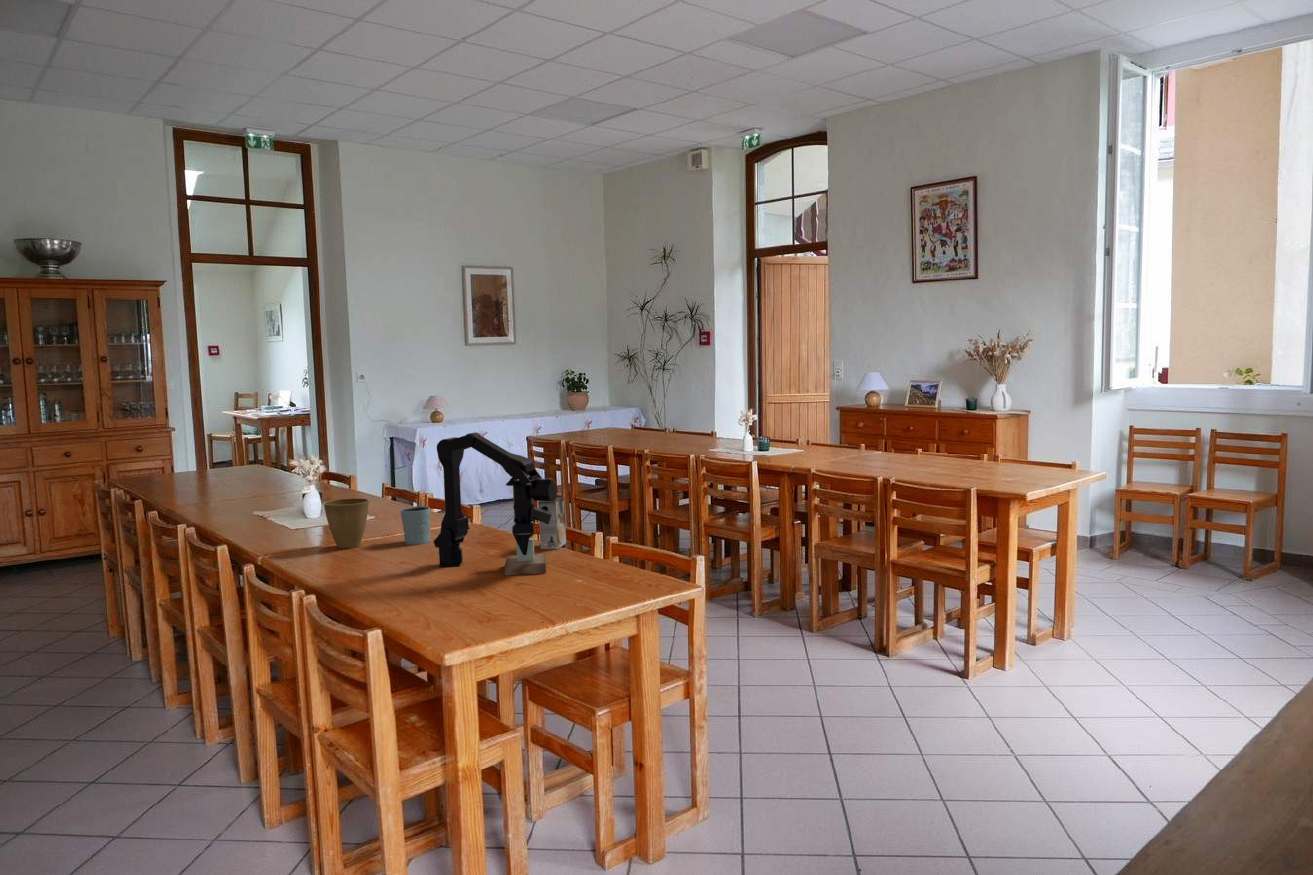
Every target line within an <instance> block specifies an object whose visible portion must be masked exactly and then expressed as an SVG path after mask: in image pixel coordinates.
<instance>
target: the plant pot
mask: <svg viewBox="0 0 1313 875" xmlns="http://www.w3.org/2000/svg"><path fill="white" fill-rule="evenodd" d="M369 503H370V499H367V498H361V497H360V498H359V497H355V498H354V497H353V498H351V497H349V498H339V499H334V500H328V501H324V502H323V508H324V512H325V517H326V520H327V521H326V522H327V524H328V527H329V530H330V533H331V535H332V538H333V540H334V543H335V545H336V547H337V548H338V549H352V548H353V549H354V548H358V547H359V546H360V545H361V543H362V539H363V536H364V532H365V530H366V529H365V528H366V525H367V519H368V513H369Z"/></svg>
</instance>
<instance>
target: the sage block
mask: <svg viewBox="0 0 1313 875" xmlns="http://www.w3.org/2000/svg"><path fill="white" fill-rule="evenodd" d="M515 542H516V543H515V546H516V548H515V549H516V550H515V551H516V556H517V562H525V561H534V555H535V545H534V537H530V538H529V542H528V549H527V555H523V554H522V552H521V550H520V548H519V545H518V543H517V541H516V540H515Z"/></svg>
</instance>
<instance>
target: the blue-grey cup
mask: <svg viewBox="0 0 1313 875" xmlns="http://www.w3.org/2000/svg"><path fill="white" fill-rule="evenodd" d="M400 517H401V521H402V526H403V533H404V534H403V536H404V542H405V544H406V545H410V546H416V545H424V544H428V543H430V542H431V531H430V530H431V523H430V522H431V507H430V506H411V507H410V506H409V507H405V508H402V509H400Z"/></svg>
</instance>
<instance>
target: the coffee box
mask: <svg viewBox="0 0 1313 875" xmlns="http://www.w3.org/2000/svg"><path fill="white" fill-rule="evenodd" d="M537 503H538V508H541V507H542V506H543V505H545V506H548V510H549V511H551V512H552V517H551V520H550V523H549V524H545V523H544V522H541V521H538V522H539V541H540V550H559V549H560V548H561V547H563V546H564V545H565V544H566V543H567V533H566V532H567V531H566V509H565V497H563V496H562V497H561V496H560V497H559V496H557V497H556V499H555V501H537ZM544 544H547V545H544ZM552 546H554V547H552ZM555 547H558V548H559V549H558V548H555Z"/></svg>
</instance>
